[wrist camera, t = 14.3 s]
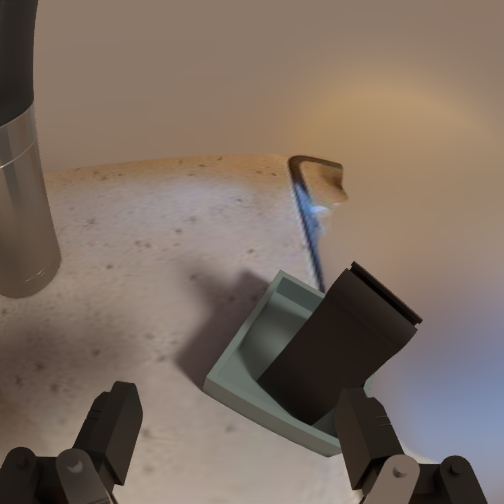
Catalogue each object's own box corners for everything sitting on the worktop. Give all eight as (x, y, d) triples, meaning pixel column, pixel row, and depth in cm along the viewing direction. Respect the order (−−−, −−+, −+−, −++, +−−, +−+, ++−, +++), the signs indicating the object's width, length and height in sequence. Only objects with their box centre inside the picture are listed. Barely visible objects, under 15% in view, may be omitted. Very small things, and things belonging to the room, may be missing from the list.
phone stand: (317, 324, 30) (377, 238, 22) (361, 364, 28) (438, 289, 20) (255, 381, 25) (308, 300, 16) (306, 429, 22) (391, 374, 14)
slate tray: (201, 391, 24) (206, 376, 22) (270, 290, 33) (280, 269, 31) (327, 457, 22) (347, 450, 19) (369, 345, 31) (386, 328, 28)
